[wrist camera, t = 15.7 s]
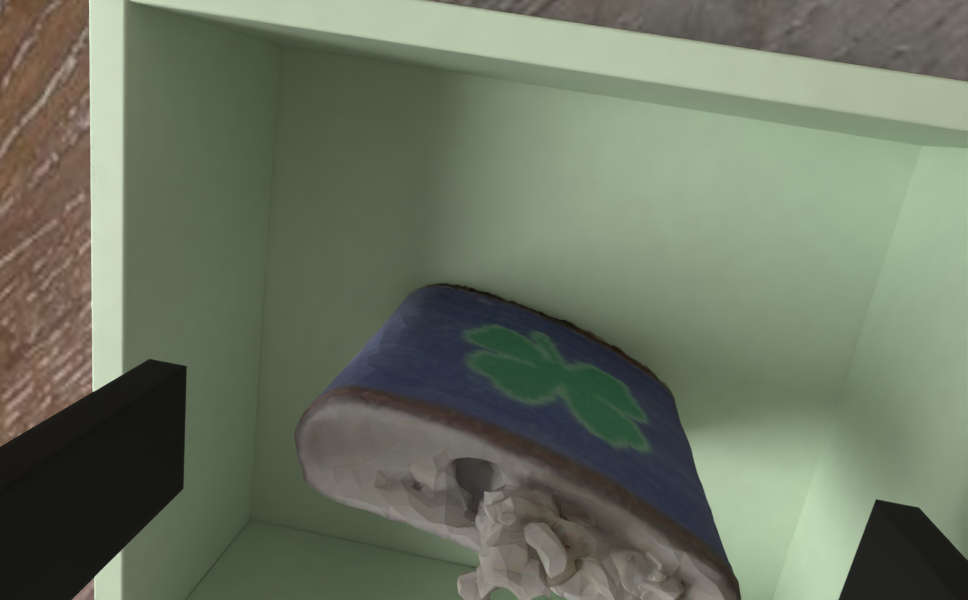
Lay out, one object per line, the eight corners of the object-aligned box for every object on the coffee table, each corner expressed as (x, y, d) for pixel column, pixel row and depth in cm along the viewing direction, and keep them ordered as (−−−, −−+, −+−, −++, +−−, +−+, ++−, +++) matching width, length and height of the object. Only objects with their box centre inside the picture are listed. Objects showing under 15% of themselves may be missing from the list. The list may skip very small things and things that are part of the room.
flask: (390, 335, 21) (221, 536, 11) (425, 253, 20) (280, 386, 10) (652, 458, 21) (736, 779, 11) (698, 381, 20) (837, 649, 10)
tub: (238, 519, 24) (93, 693, 17) (269, 16, 20) (86, -51, 12) (772, 635, 23) (870, 882, 15) (946, 120, 18) (1210, 116, 11)
